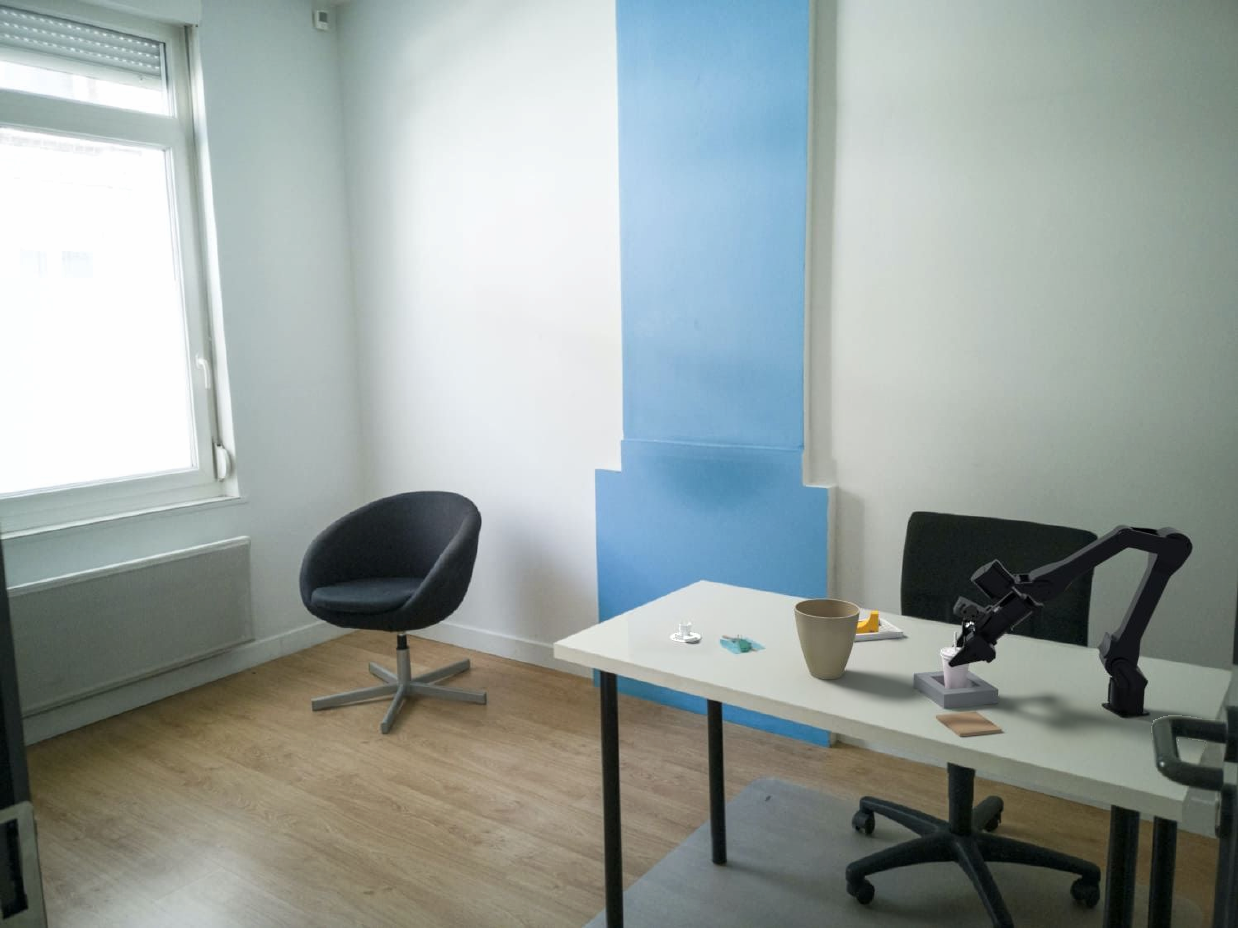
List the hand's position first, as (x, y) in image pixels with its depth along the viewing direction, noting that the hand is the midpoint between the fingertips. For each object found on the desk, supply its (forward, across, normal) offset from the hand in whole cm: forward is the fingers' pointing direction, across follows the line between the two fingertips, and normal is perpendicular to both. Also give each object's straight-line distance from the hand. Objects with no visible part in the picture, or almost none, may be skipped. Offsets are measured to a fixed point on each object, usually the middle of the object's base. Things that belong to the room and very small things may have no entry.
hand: (949, 660), depth 198 cm
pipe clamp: (+21, -37, -10) cm, 44 cm away
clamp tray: (+20, -38, -9) cm, 44 cm away
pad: (+3, +16, +8) cm, 18 cm away
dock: (+4, 0, +6) cm, 8 cm away
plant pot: (+24, -5, -13) cm, 28 cm away
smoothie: (+5, 0, +6) cm, 8 cm away
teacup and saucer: (+52, -20, -41) cm, 69 cm away
